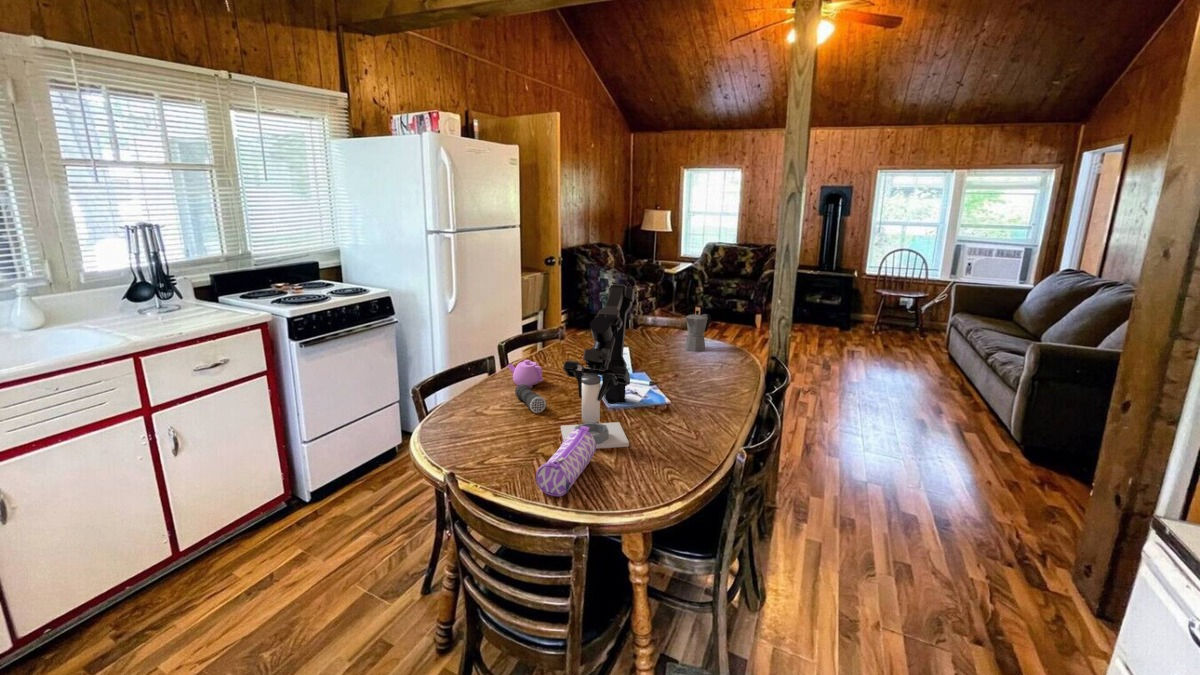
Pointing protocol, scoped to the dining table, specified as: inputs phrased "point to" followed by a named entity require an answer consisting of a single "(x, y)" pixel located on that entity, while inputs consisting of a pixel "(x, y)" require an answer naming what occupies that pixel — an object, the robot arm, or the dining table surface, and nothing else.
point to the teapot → (526, 373)
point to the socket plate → (612, 435)
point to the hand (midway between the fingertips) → (589, 399)
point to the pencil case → (566, 463)
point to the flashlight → (530, 398)
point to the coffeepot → (696, 331)
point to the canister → (590, 398)
